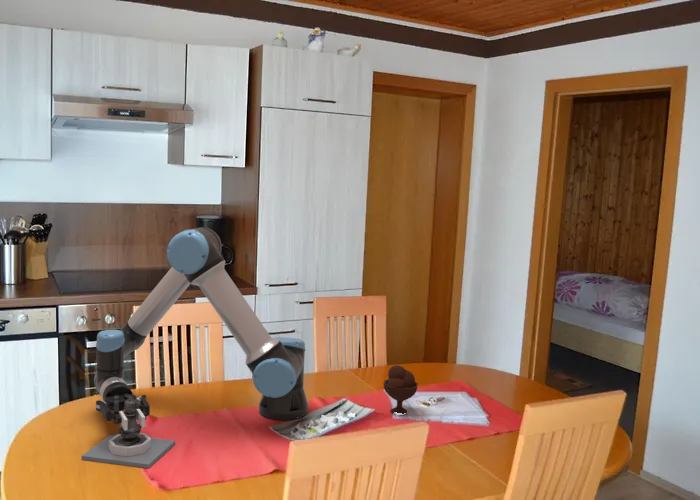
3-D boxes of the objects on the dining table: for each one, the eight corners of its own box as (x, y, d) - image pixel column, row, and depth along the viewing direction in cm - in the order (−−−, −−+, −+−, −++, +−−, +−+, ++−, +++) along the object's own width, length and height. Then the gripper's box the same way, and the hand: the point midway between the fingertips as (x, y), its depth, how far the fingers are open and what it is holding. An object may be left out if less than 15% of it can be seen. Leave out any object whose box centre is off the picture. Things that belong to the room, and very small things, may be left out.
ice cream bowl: (393, 420, 201) (396, 372, 199) (375, 408, 211) (378, 362, 209) (423, 416, 206) (425, 369, 204) (404, 404, 215) (406, 359, 214)
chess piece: (134, 446, 167) (134, 400, 165) (113, 443, 168) (113, 398, 166) (146, 437, 172) (146, 393, 171) (125, 434, 174) (126, 390, 172)
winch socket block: (175, 444, 176) (175, 432, 176) (148, 468, 162) (148, 455, 161) (113, 436, 179) (113, 425, 179) (81, 459, 165) (81, 447, 164)
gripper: (146, 403, 189) (168, 433, 169) (84, 411, 181) (99, 443, 161) (146, 378, 189) (168, 404, 168) (84, 385, 180) (99, 414, 160)
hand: (134, 423), depth 165 cm, fingers closed on chess piece, 4 cm apart
